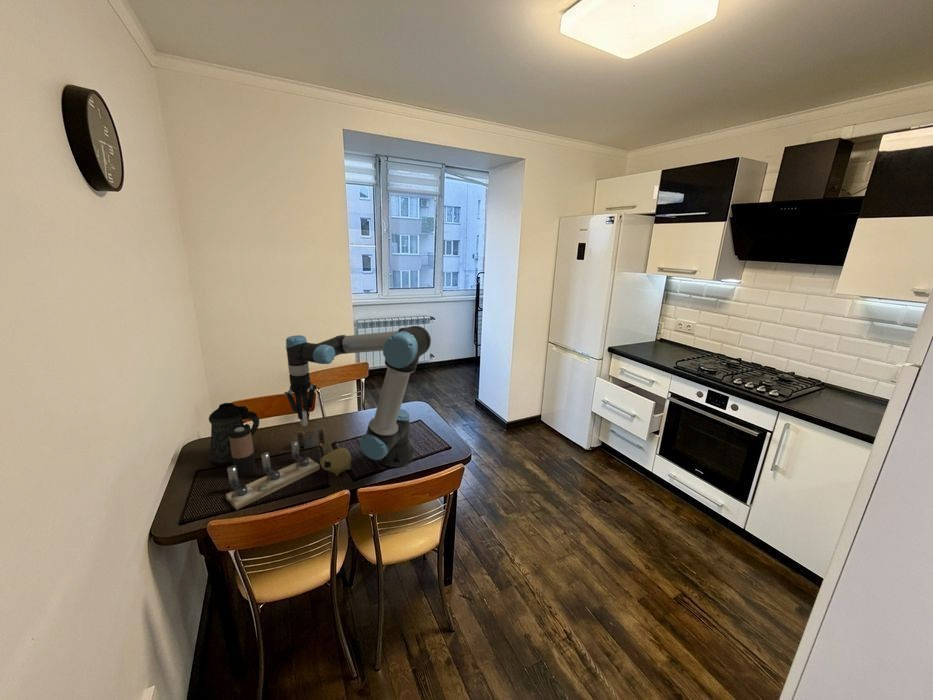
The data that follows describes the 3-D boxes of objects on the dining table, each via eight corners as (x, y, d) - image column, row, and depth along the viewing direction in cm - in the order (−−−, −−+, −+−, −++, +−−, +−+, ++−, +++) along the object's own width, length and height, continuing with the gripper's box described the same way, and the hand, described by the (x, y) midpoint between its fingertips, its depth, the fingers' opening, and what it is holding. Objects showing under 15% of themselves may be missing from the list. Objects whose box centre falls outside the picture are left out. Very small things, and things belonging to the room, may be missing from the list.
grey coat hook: (310, 463, 152) (308, 448, 150) (303, 467, 149) (301, 451, 147) (297, 455, 158) (296, 439, 155) (290, 458, 155) (288, 442, 153)
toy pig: (318, 470, 152) (316, 448, 149) (347, 461, 158) (346, 440, 155) (325, 483, 144) (323, 459, 141) (354, 473, 151) (353, 451, 148)
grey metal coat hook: (249, 492, 133) (246, 475, 131) (239, 497, 131) (236, 479, 129) (237, 481, 139) (234, 464, 137) (228, 485, 137) (225, 468, 135)
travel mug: (241, 479, 144) (233, 434, 138) (231, 472, 148) (223, 429, 142) (260, 470, 150) (254, 427, 145) (250, 463, 154) (243, 421, 148)
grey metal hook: (281, 477, 143) (279, 460, 140) (273, 481, 140) (271, 464, 138) (269, 467, 148) (267, 451, 146) (261, 471, 146) (259, 454, 144)
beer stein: (204, 456, 158) (194, 404, 151) (253, 440, 172) (246, 392, 164) (215, 473, 147) (205, 418, 140) (266, 454, 161) (259, 403, 154)
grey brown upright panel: (298, 450, 166) (296, 432, 163) (298, 447, 168) (296, 428, 166) (325, 446, 170) (323, 427, 168) (324, 442, 173) (323, 424, 170)
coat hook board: (319, 469, 153) (319, 463, 152) (236, 509, 128) (235, 503, 127) (308, 460, 158) (307, 455, 157) (226, 498, 133) (225, 492, 133)
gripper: (309, 367, 156) (313, 416, 163) (278, 374, 146) (284, 427, 152) (319, 371, 152) (323, 421, 158) (287, 379, 141) (293, 433, 148)
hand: (304, 424), depth 155 cm, fingers closed
